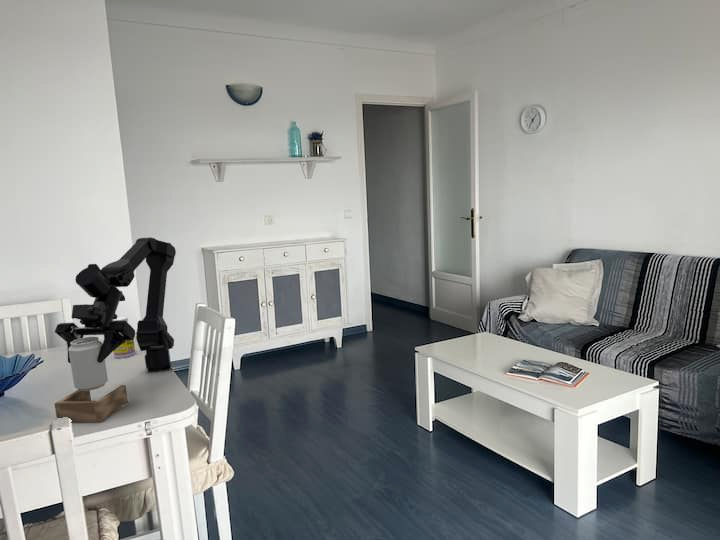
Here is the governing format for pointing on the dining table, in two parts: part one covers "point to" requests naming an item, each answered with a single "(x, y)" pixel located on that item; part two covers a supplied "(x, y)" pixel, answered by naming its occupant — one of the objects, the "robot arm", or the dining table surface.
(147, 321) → the robot arm
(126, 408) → the dining table surface
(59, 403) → the u rest
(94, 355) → the can
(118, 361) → the dining table surface
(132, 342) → the supplement bottle
